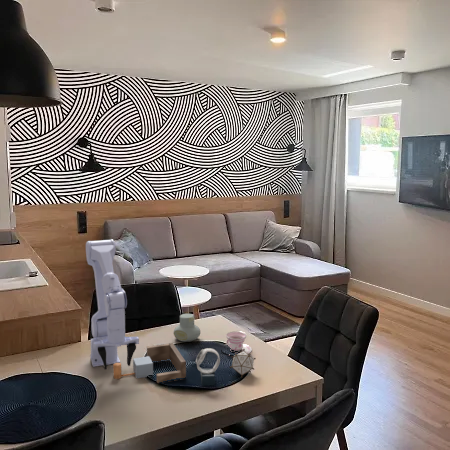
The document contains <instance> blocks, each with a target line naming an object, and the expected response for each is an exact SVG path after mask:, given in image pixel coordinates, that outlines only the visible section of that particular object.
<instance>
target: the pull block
mask: <svg viewBox="0 0 450 450" xmlns="http://www.w3.org/2000/svg"><path fill="white" fill-rule="evenodd" d="M132 363H133V364H132V367H133V369H132V371H133V372H130V373H125V374H122V363H121V362H120V363H115V364H112V365H113V366H112V369H113V379H114V380H120V379H121V378H122V377H127V376H134V375H135V378H136V379H140V378H147V376H148V375H153V376H154V363H153V362H152V360H151V359H150V357H149V356H147V355H146V356H142V357H134V358H133V357H132ZM148 377H149V376H148Z"/></svg>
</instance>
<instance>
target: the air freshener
mask: <svg viewBox="0 0 450 450" xmlns="http://www.w3.org/2000/svg"><path fill="white" fill-rule="evenodd" d="M200 335H201V328H200V327H199V326H198V325H196V324H195V315H194V314H192V313H183V314H181V315H179V324H178V325H177V326H176V327H174V329H173V336H174V337H175V339H177V340H178V341H180V342H183V343H189V342H192V341H196V340H197V339H198V338H199V337H200Z"/></svg>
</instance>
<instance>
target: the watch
mask: <svg viewBox="0 0 450 450" xmlns="http://www.w3.org/2000/svg"><path fill="white" fill-rule="evenodd" d="M208 352H209V353H214V354H215V356H217V358H216V359H217V360H216V362H215V364H214V365H213V367H212V368H202V367H200V365H201V364H202V363H203V361H204V359H205V357H206V354H207V353H208ZM220 362H221V358H220V354H219V352H218V351H217V350H216V349H214V348H210V347H209V348H208V347H207V348H204V349H203V348H202V349H201V350H200V351H199V353H198V354H197V356H196V359H195V364H196V368H197V370H198V371H199V372H200V377H201V386H215V385H216V375H215V373H216V370H217V369H218V367H219V365H220Z"/></svg>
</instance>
